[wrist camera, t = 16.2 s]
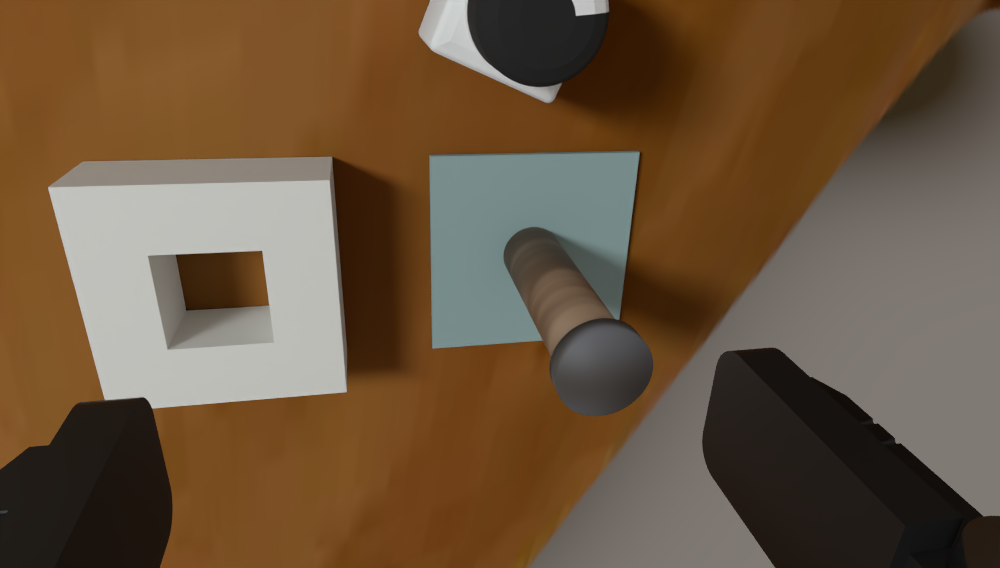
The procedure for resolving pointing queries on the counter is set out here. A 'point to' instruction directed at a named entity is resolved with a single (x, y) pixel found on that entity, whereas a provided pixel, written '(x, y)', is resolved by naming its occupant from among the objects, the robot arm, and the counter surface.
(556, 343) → the pin
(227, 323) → the eye block
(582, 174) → the mat
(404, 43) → the counter surface
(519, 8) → the medicine bottle
